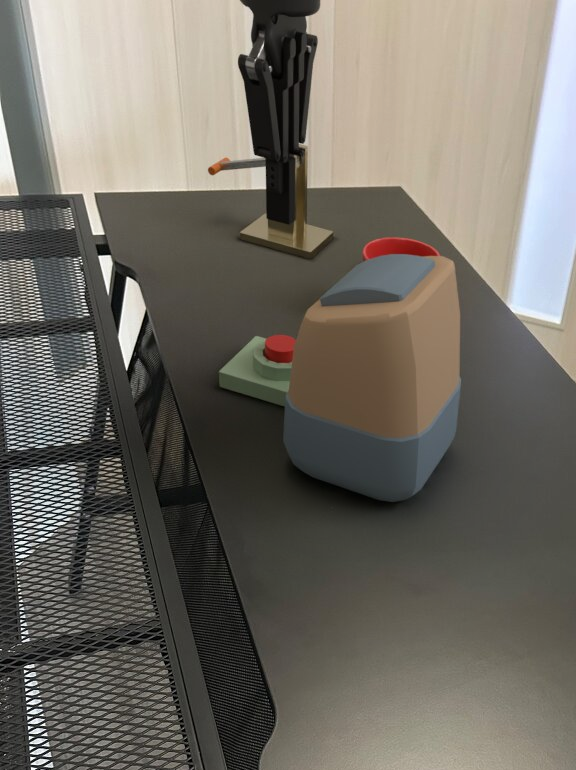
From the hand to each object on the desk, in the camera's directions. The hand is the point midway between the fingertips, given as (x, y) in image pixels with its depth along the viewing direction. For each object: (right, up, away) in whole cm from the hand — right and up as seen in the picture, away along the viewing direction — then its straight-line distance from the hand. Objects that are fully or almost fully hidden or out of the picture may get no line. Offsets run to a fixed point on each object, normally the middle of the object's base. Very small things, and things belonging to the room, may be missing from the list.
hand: (280, 219), depth 94 cm
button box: (-3, -14, +14) cm, 20 cm away
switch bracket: (-7, +16, +43) cm, 46 cm away
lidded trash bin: (+9, -26, +6) cm, 28 cm away
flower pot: (+11, -1, +30) cm, 32 cm away
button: (-2, -12, +12) cm, 17 cm away
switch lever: (-11, +24, +37) cm, 45 cm away
